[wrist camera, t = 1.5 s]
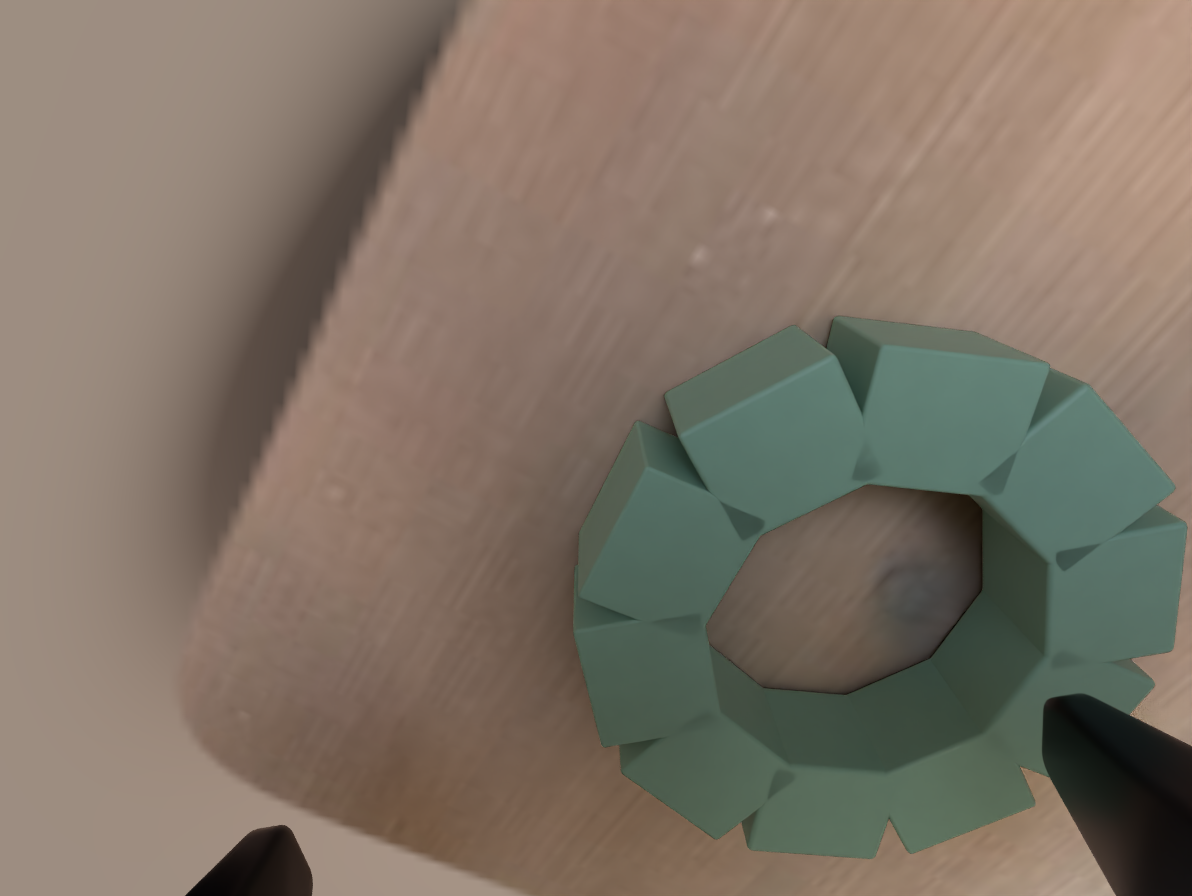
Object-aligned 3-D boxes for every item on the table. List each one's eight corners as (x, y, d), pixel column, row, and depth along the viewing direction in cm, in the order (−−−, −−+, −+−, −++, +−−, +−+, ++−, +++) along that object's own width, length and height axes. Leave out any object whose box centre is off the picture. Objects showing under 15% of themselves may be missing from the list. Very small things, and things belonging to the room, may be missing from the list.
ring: (1112, 260, 10) (1219, 280, 8) (1082, 732, 13) (1156, 816, 11) (528, 375, 10) (518, 416, 9) (631, 806, 13) (639, 897, 12)
